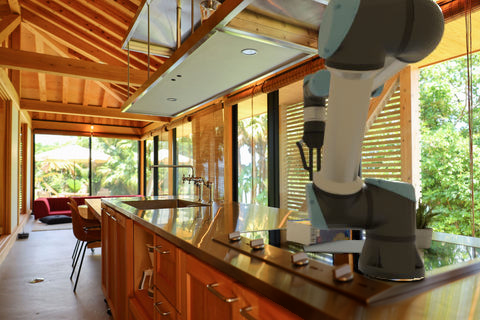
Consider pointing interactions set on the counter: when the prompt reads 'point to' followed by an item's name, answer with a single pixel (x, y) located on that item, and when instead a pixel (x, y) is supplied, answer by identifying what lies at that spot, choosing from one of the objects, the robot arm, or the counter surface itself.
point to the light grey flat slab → (336, 246)
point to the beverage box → (312, 233)
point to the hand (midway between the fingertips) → (315, 191)
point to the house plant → (424, 225)
